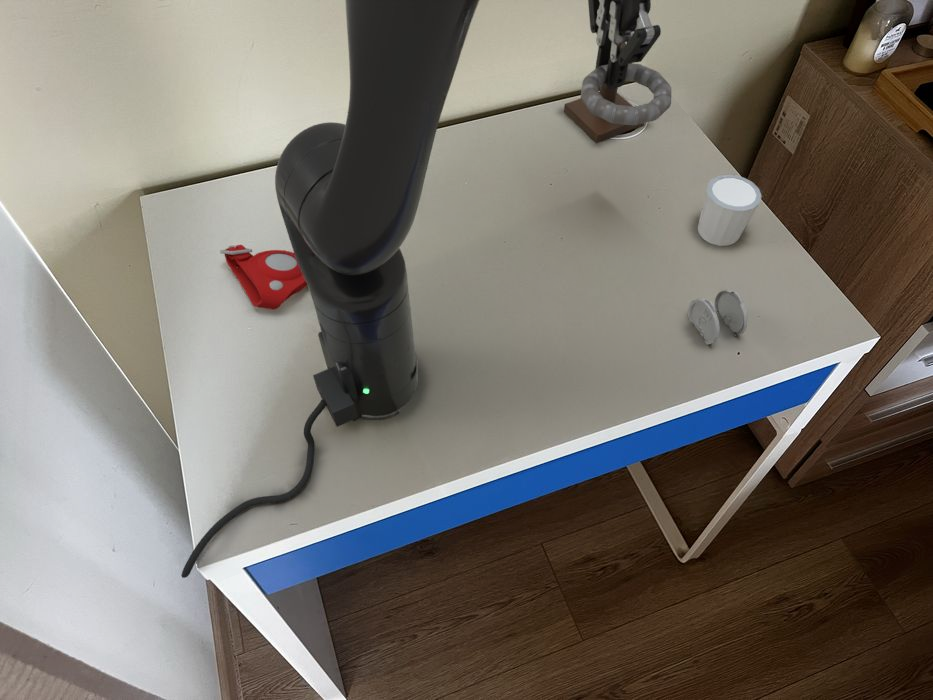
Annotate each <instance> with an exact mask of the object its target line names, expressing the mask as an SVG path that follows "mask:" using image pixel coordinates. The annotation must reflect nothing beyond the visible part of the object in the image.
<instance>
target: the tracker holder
mask: <svg viewBox="0 0 933 700" xmlns="http://www.w3.org/2000/svg"><path fill="white" fill-rule="evenodd" d="M252 252H253V249H252V248H246V247H245V245H243V244H236V245H232V244H231V245H228V248H225V249H220V251H219V253H220V254H222V255H224V258H225V261H226V263H227V265H228V268H229V269H230V270H231V272H232V273H233V275H234V276H235V277H236V279H237V280H238V282H239V283H240V285H241V287H242V289H243V290H244V292H245V294H246V295H247V297H248V299H249V300H250V302H251V304H252V306H254V307H256V308H261V309H266V310H277V309H278V308H280V307H281V306H282V305H283V304H284V303H285V302H286V301H288V300H289V299H290V298H291V297H292V296H294V295H295V294H298V293H300V292H301V291H302V290H304V289H305V288H306V287H308V285H307V283H306V280H305V278H304V276H303V274H302V272H301V270H300V267H299V265H298V263H297V260H296V257H295V254H294V252H293V251H288V250H282V249H271V250H264V251H260V252H258V253H256V254H254V255H253V254H252Z"/></svg>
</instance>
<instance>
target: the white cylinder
mask: <svg viewBox="0 0 933 700" xmlns="http://www.w3.org/2000/svg"><path fill="white" fill-rule="evenodd" d="M761 200H762V193H761V190H760V188H759V187H758V186H757V185H756V184H755V183H754V182H753V181H751V180H749V179H748V178H746V177H744V176H740V175H735V174H722V175H718V176H714V177H713V178H712V179H710V180H709V182H708V184H707V187H706V190H705V195H704V198H703V202H702V207H701V212H700V216H699V220H698V225H697V231H698V234H699V236H700V237H701V238H702V239H703V241H706V242H707V243H708V244H711V245H714V246H718V247H727V246H730V245H734V244H735V243H736V242H738V240H740V237H741V236H742V234H743V233H744V230H745V229H746V227H747V225H748V224H749V222H750V220H751V219H752V218H753V215H754V214H755V212H756V210H757V209H758V207H759V205H760V204H761Z"/></svg>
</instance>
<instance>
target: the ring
mask: <svg viewBox="0 0 933 700" xmlns="http://www.w3.org/2000/svg"><path fill="white" fill-rule="evenodd" d="M595 68H596V67H595ZM595 68H594V69H593V70H592V71H591V72H590V73H589V74H587V75H586V76H584V78H583V80H582V83H581V89H580V98H581V99H582V101H583V102H584V104H585V105H586V106H587V108H588V109H589V110H590V112H591V113H592V114H594V115H596V116H598V117H600V118H602V119H604V120H606V121H608V122H610V123H616V124H625V125H638V124H642V123H644V124H646V123H650V122H654V121H656V120H658V119H659V118H660V117H661V116H663V114H665V112H666V111H668V110H669V109H670V107H671V105H672V86H671V85H670V83H669V82H668V80H666V79H665V77H664V76H663V75H662V73H660V72H659V71H658V70H655V69H652V68H650V67H648V66H646V65H643V64H641V63H630V64H628V67H627V72H626V77H625V82H634V83H636V84H638V85H641V86H643V87H646V88H648V90H649V92H651V93H652V95H653V99H651V100H650V101H649V102H648V103H645V104H640V105H636V106H633V105H632V106H623V105H616V104H614V103H612V102H610V101H608V100H606V99H604V98H603V97H602V96H601V94H600V93H599V92H600V87H601V86H602V85H603V84H604V83H605V82H606V74H607V68H608V64H607V65H603V66H599V67H597V68H596V69H595Z"/></svg>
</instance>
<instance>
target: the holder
mask: <svg viewBox="0 0 933 700" xmlns="http://www.w3.org/2000/svg"><path fill="white" fill-rule="evenodd" d="M626 43H627V42H623V43H622V44H621V45H620V49H624V47H625V46H626ZM618 89H619V87H618V88H614V89H608V88H607V87H606V86H605V83H604V84H603V85H602V86H601V87H600V88H599V93H600V94H601V96H602V97H603V98H604V99H606V100H608V101H610V102H612V103H614V104H616V105H623V106H633V105H632V104H631V103H630V102H629V101H628V100H626V99H625V98H624V96H622V95H621V94H620V93H618V91H619V90H618ZM563 113H564V114H565V115H566V116H567V118H569V119H570V120H571V121H572V122H574V124H576V125H577V126H578V128H579V129H581V130H582V131H583V132H584V133H585V134H586V135H587V136H588V137H589V138H590V139H592V141H593V142H594V143H596V144H599V143H601V142H604V141H606V140H609V139H611V138H614V137H617V136H620V135H622V134H625V133H628V132H630V131H633V130H635V129H638V128H640V127H643V126H645V123H642V124H638V125H625V124H616V123H610V122H608V121H606V120H604V119H602V118H600V117H598V116H596V115H594V114H592V113H591V112H590V110H589V109H588V108H587V106H586V105H585V104H584V102H583V101H582V99H581V97H580V98H578V99H575V100H572V101H569V102H566V103H564V107H563Z"/></svg>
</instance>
